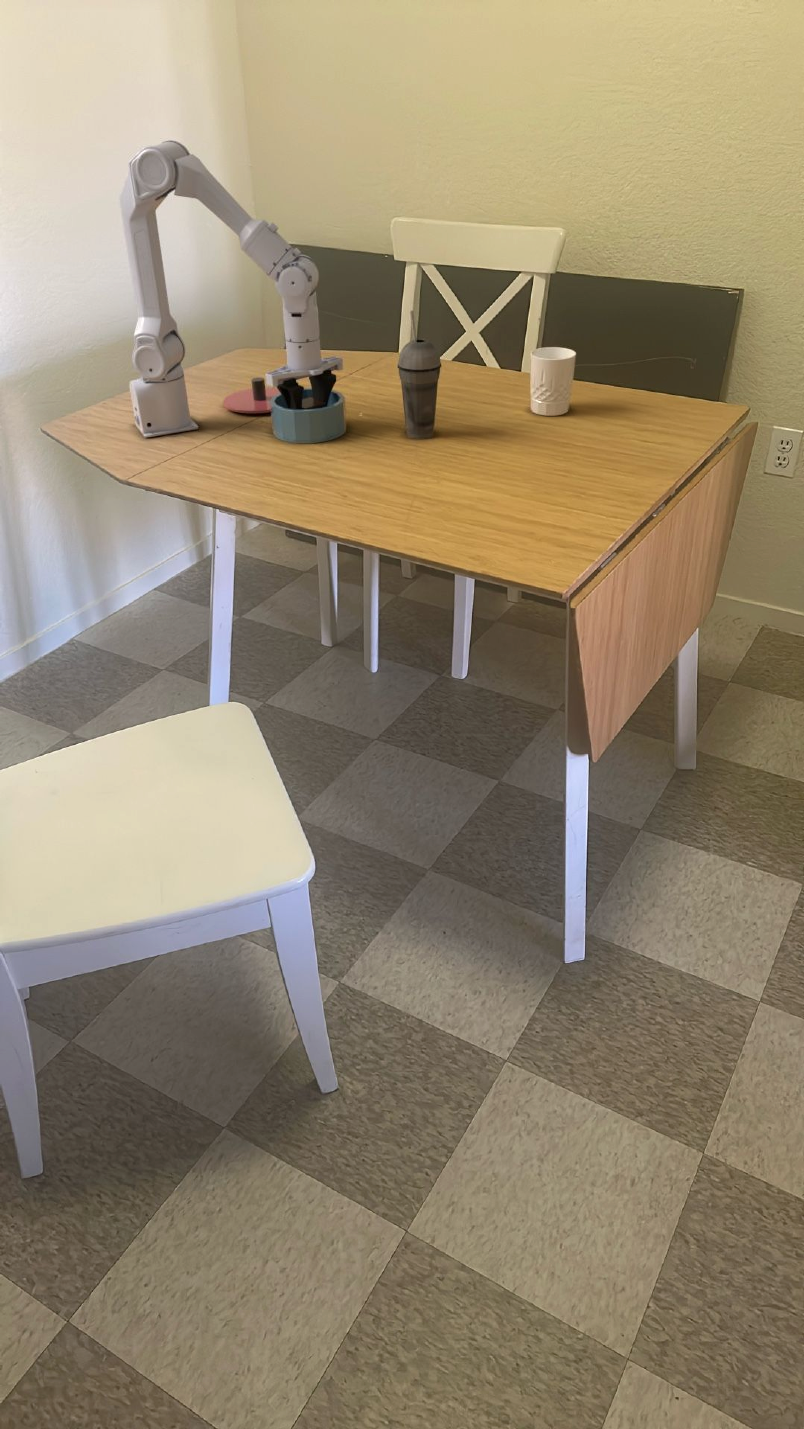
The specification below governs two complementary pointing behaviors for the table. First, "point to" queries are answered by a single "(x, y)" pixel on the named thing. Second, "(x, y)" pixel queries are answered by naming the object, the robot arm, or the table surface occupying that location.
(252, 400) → the lid
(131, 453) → the table surface
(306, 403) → the block
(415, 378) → the beverage cup
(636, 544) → the table surface
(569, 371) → the white cup
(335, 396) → the bowl
